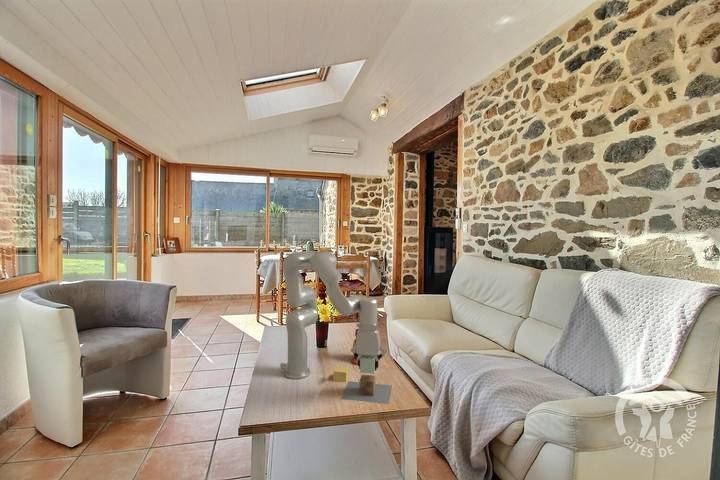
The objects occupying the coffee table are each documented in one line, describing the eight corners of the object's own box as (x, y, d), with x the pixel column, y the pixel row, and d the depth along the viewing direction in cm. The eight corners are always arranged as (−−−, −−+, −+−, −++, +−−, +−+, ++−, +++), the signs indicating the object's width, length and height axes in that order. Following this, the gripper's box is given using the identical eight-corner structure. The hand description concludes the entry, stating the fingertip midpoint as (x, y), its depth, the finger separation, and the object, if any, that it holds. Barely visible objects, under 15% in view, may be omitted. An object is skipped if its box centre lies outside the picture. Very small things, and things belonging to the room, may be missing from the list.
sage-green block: (360, 372, 142) (360, 358, 142) (362, 366, 148) (362, 353, 148) (374, 373, 141) (374, 359, 141) (375, 367, 147) (376, 354, 147)
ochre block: (333, 384, 155) (333, 371, 155) (336, 378, 161) (336, 366, 161) (345, 385, 154) (346, 372, 154) (348, 379, 160) (348, 367, 160)
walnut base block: (359, 394, 143) (359, 380, 142) (361, 387, 149) (361, 374, 148) (373, 395, 142) (373, 382, 141) (375, 389, 148) (375, 375, 147)
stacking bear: (353, 365, 176) (354, 331, 175) (349, 358, 186) (349, 326, 185) (373, 363, 179) (374, 330, 178) (367, 356, 189) (368, 324, 188)
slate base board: (340, 402, 139) (340, 398, 139) (348, 384, 155) (348, 381, 155) (388, 407, 136) (388, 403, 136) (392, 388, 151) (392, 385, 151)
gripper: (346, 328, 142) (346, 370, 142) (387, 331, 139) (387, 374, 139) (350, 323, 149) (350, 363, 150) (389, 325, 146) (388, 366, 147)
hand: (368, 368), depth 145 cm, fingers closed on sage-green block, 6 cm apart
